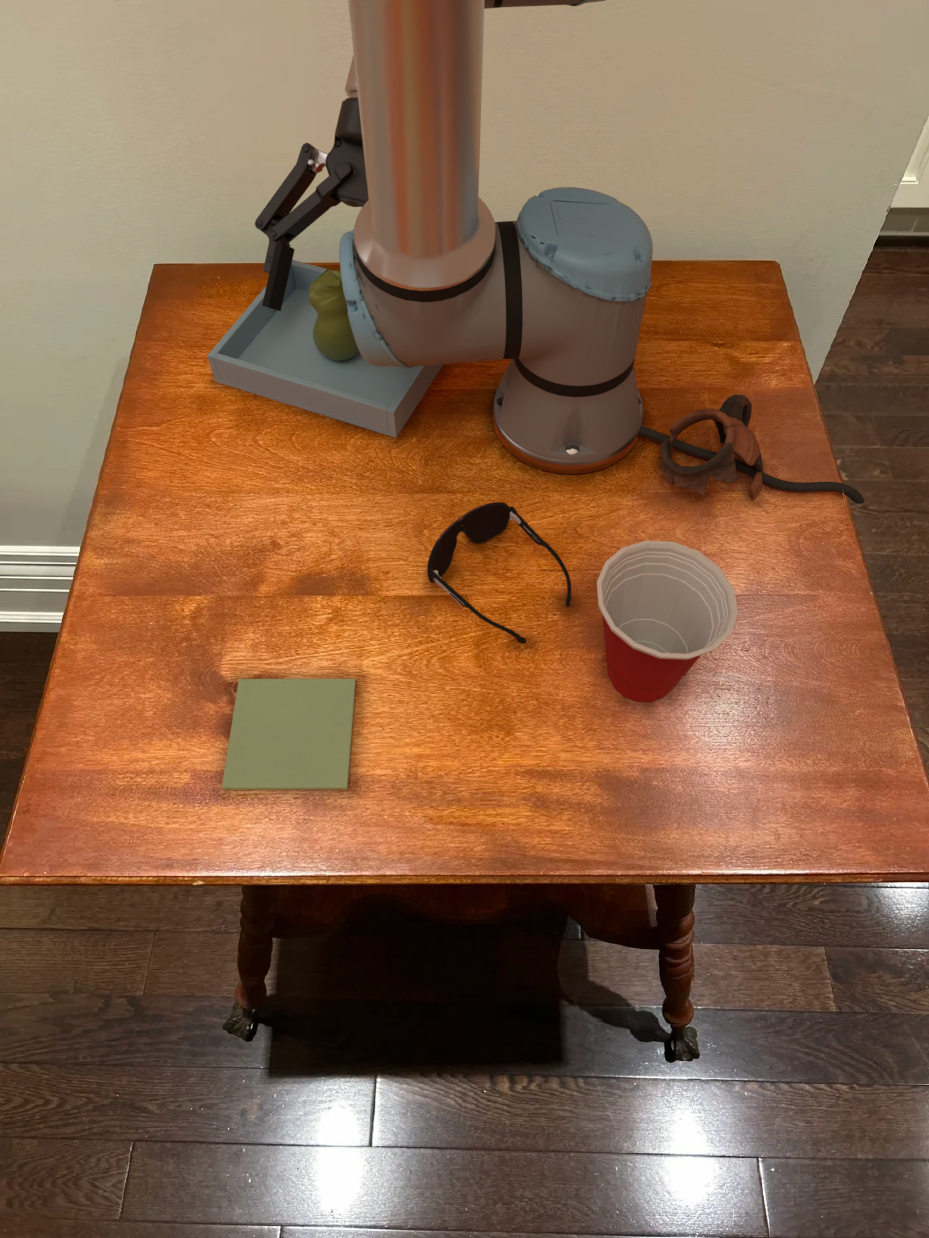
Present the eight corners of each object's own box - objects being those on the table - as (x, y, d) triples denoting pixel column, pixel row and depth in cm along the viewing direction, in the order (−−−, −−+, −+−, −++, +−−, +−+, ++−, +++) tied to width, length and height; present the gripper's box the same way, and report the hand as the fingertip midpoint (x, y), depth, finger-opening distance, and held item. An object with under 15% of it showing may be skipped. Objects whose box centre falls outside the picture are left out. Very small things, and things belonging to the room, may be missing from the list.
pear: (345, 377, 102) (334, 299, 94) (306, 359, 103) (291, 281, 95) (375, 347, 104) (367, 269, 96) (337, 330, 106) (325, 252, 98)
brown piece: (756, 528, 91) (729, 481, 85) (667, 522, 97) (636, 477, 91) (791, 424, 94) (767, 371, 88) (702, 424, 100) (674, 374, 94)
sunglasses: (495, 517, 91) (501, 486, 87) (584, 599, 88) (595, 572, 83) (413, 578, 87) (415, 549, 83) (503, 667, 84) (510, 642, 79)
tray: (463, 332, 106) (463, 306, 103) (396, 438, 97) (393, 412, 94) (293, 285, 111) (288, 258, 108) (214, 381, 102) (206, 355, 99)
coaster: (356, 681, 82) (355, 678, 81) (348, 790, 76) (347, 787, 76) (239, 681, 82) (238, 678, 81) (223, 790, 76) (221, 787, 76)
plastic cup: (703, 741, 78) (737, 666, 68) (572, 718, 79) (587, 641, 69) (711, 632, 84) (743, 548, 74) (589, 612, 85) (605, 527, 75)
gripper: (506, 148, 95) (448, 360, 100) (287, 97, 100) (242, 300, 105) (486, 123, 88) (425, 352, 93) (252, 69, 93) (206, 289, 98)
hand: (328, 325), depth 99 cm, fingers open, 13 cm apart
